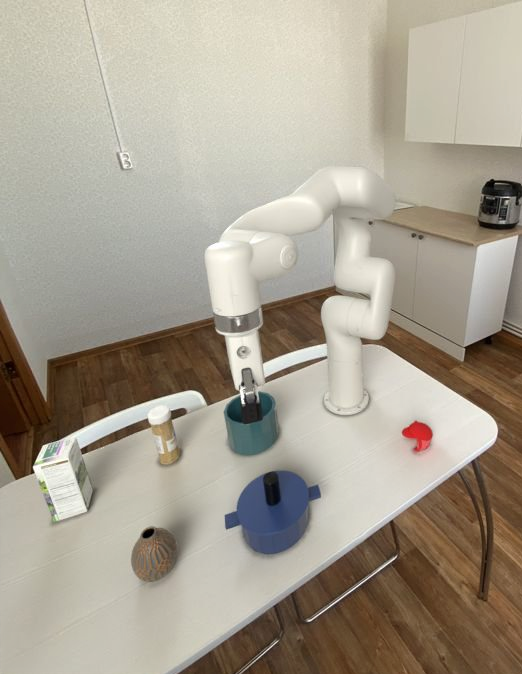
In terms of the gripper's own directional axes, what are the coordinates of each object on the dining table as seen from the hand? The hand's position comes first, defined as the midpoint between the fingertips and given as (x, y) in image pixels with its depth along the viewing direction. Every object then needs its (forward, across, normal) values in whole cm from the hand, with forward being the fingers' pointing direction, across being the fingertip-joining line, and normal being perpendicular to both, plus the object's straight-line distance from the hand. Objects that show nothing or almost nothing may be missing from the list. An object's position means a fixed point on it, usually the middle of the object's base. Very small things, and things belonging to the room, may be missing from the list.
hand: (250, 403), depth 68 cm
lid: (+20, -4, -2) cm, 20 cm away
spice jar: (+26, +21, +19) cm, 38 cm away
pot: (+25, +21, 0) cm, 33 cm away
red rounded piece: (+25, +4, -37) cm, 45 cm away
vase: (+26, -5, +19) cm, 32 cm away
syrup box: (+26, +15, +36) cm, 47 cm away
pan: (+25, -4, -2) cm, 26 cm away
